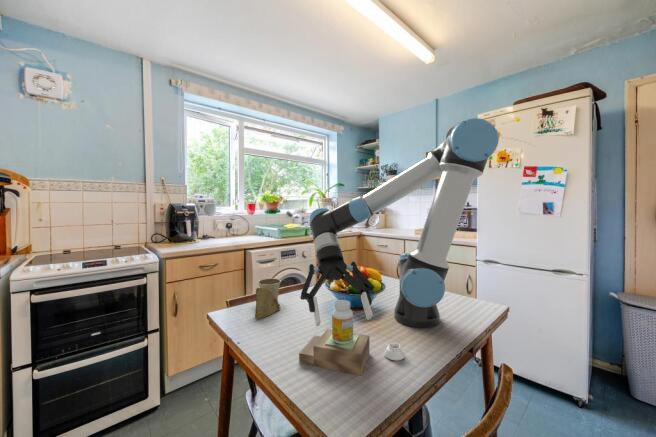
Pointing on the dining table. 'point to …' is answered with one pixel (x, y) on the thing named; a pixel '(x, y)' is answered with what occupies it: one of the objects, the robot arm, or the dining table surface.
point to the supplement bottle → (342, 322)
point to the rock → (265, 303)
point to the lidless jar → (394, 352)
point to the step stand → (336, 353)
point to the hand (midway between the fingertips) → (344, 321)
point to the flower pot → (271, 285)
